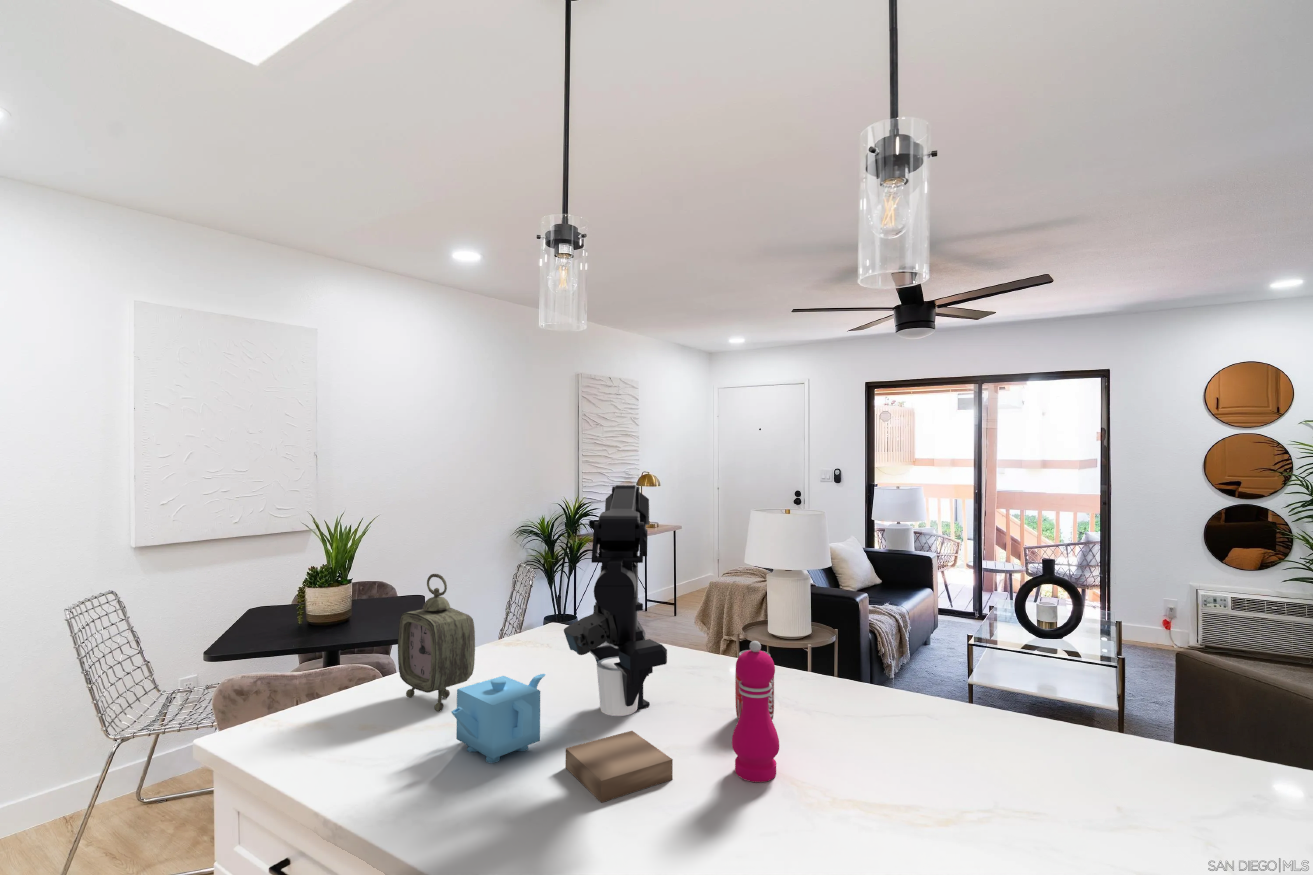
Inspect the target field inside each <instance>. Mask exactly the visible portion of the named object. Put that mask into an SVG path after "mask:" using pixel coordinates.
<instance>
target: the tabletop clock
mask: <svg viewBox="0 0 1313 875" xmlns="http://www.w3.org/2000/svg"><path fill="white" fill-rule="evenodd" d="M432 578H438V579H439V580H440V581H442V583H443V586H444V588H443V591H441V592H440V588H439V587H435V588H434V589H432V587H431V586H430V581H431V580H432ZM426 587H427V590H428V591H429V593H430V594H431V595H433V596H431V597H429V598H428V599H427V600H425V602H424V603H423V606H422V607H421V608H422V609H417V610H411V611H407V612H403V613H401V614H400V618H399V621H398V623H399V624H398V630H397V631H398V633H397V634H398V637H397V665H398V671H399V678H400V679H401V680H402V681H403V682H404V683H405V684H407V685H408V686H410V687H411V688H409V689H407V690H406V693H405V696H406V697H407V698H413V697H414V695H415V690H417V691H420V692H423V693H432V692H436V691H437V693H438V696H437V702H436V703H435V704H434V710H435V711H436V712H441V711H443V709H444V703H442V700H443V699H442V698H444V699H447V698H448V697H449V696H450V695H451V692H450V690H449V689H447V688H449V687H452V686H455V685H459V684H462V683H465V682H467V681H468V680H469V679H470V677H471V676H472V675H473V674H474V673H473V672H474V671H475V670H474V669H475V660H476V658H475V656H476V631H475V630H476V628H475V623H474V618H472V616H471V615H469V614H468V613H466V612H463V611H460V610H458V609H455V608H453V607H451V605H450V602H449V601H448V600H447V599H446V597H443V596H444V595H445V594H446V593H447V589H448V585H447V581H446V578H444V577H443V576H442V575H441V574H439V573H432V574H430V575H429V576H428V578H427V580H426Z"/></svg>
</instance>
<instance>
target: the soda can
mask: <svg viewBox="0 0 1313 875" xmlns="http://www.w3.org/2000/svg"><path fill="white" fill-rule="evenodd" d="M749 650H750V649H745V650H742V651H740V652H739V653H738V657H739V656H740V655H741V654H742V653H744V652H746V651H749ZM762 651H763V652H765V653H767V654H768V655H769V656H770V657H771V654H770V653H769V652H767V651H764V650H762ZM734 677H735V679H734V680H735V682H734V683H735V684H734V685H735V693H734V694H735V695H734V696H735V713H736V714H735V715H736V718H737V719H739V718H740V716H741V711H742V694H741V693H740V692H739V688H740V686H739V682H740V681H741V680H740V678H739V677H738V676H737V673H736V672H735V676H734ZM770 683H771V685H772V688H771V691H772V694H771V695H770V696H769V700H768V706H769V713H770V717H771V719H772V720H774V713H775V676H774V677H773V678H772V680H771V681H770Z"/></svg>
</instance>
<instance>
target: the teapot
mask: <svg viewBox="0 0 1313 875" xmlns="http://www.w3.org/2000/svg"><path fill="white" fill-rule="evenodd" d="M545 676H546V673H540V674H536V675H535V676H533V677H532V679H531V680H530V682H529V684H526V683H523V682H521V681H518V680H516V679H513V678H510V677H509V676H506V675H501V676H498V677H494V678H491V679H488V680H483V681H481V682H476V683H474V684H471V685H466V686H463V687H460V688H457V689H456V708H455V709H453V710H451V711H450V712H451V714H452V715H453V717H454V718H455V719H456V733H455V735H456V736H455V737H456V740H457V741H459V742H461V743H463V744H465V745H466V746H468V747H467V749H466V750H467V751H468V752H470V753H471V752H472V753H473V752H475V753H476V752H478V753H480V754H482V755H484V756H485V762H487V763H490V764H493V763H497V762H499V761H500V760H501V757H502V756H504V755H508V754H509V753H512V752H514V751H517V752H524V751H528V750H529V745H530V746H531V745H533V744H535V743H538V742H540V741H541V690H540V689H538V686H539V683H540V681H541V680H542V679H544V677H545Z"/></svg>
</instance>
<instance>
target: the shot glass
mask: <svg viewBox="0 0 1313 875" xmlns="http://www.w3.org/2000/svg"><path fill="white" fill-rule="evenodd" d="M617 662H620V660H619V657H609V658H605V659H602V660H600V661H598V663H597V662H596V671H597V672H596V673H597V684H598V698H599V706H600V711H601V712H602V713H603V714H604V715H608V716H610V717H611V716H613V717H622V716H624V717H625V716H628V715H632V714H634V713H635V712H637V705H638V695H637V698H636V700H635V702H634V704H633V705H632V706H626V704H625V698H624V689H623V679H622V672H621V671H620V670H619V669H618V668H617V667H616V666H615V665H614V663H617ZM638 694H639V693H638Z"/></svg>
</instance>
